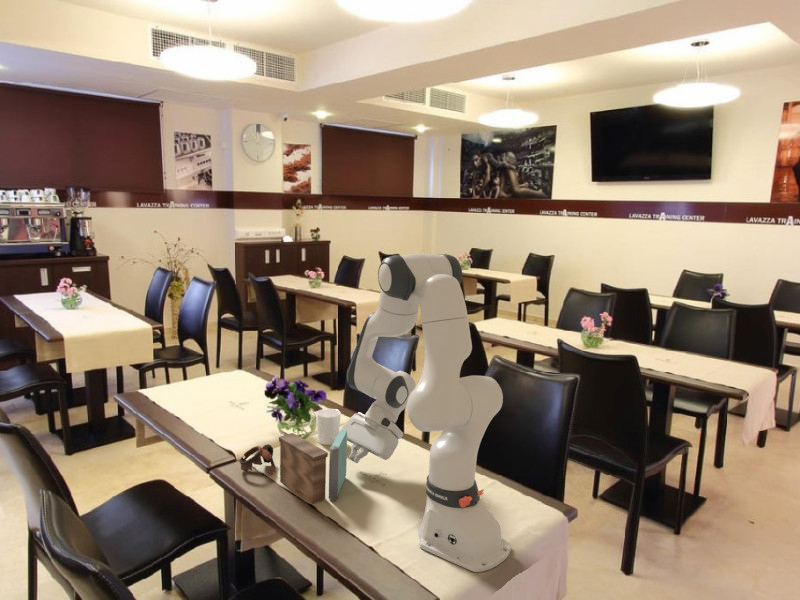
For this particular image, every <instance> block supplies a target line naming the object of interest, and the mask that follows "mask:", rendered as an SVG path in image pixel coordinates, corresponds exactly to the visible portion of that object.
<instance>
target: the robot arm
mask: <svg viewBox="0 0 800 600" xmlns="http://www.w3.org/2000/svg"><path fill="white" fill-rule="evenodd" d="M377 280H378V281H377V282H378V285H379V287H380V293H379V294H380V295H379V298H378V306H377V308H376V310H375V312H371V313H370V314H369V315H368V316H367V318H366V320H365V322H364V324H363V326H362V329H361V332H360V335H359V337H358V341H357V344H356V348H355V350H354V354H353V358H352V360H351V361H350V364H349V366H348V368H347V371H346V380H347V384H348V386H349V388H351V389H353V390H356V391H358V392H360V393H363V394H365V395H367V396H369V397H370V398H372V399H373V400H375V401H374V402H372V403H371V405H370V407H369V408H368V410H367V411H366V412H365V414H364V413H362V412H357V413H354V414H353V415H352V416H350V417H349V418H348V419H347V420H346V422H345V423H344V424H343V425H342V427H340V428H339V431H340V430H347V442H348V443H351V449H350V454H349V455H348V459H349V460H350V461H351V462H354V463H355V464H359V462H360V460H361V459H363V458H364V457H366V456H368V454H369V453H370V454H371V455H375V456H377V457H379V458H380V459H382V460H384V461H387V460H389V459H390V458H391V457H392V455H393V454H394V453H395V451H396V449H397V448H398V447H397V446H399V440H401V439H402V438H403V436H404V432H403V431H402V430H401V429H400V427H398V426H397V424H396V422H397V420H398V418H399V415H400V414H401V412H402V411H404V409H405V408H406V414H407V417H408V420H409V421H410V423H411V424H412V425H413V427H414V428H415V429H417V430H418V431H420V432H427V433H429V432H430V433H432V432H433V433H435V432H436V433H437V432H440V434H439V435H438V437H437V438H436V439H435V440H434V441H433V442H432V444H431V446H430V449H429V463H428V464H429V465H428V475H427V478H426V482H425V483H426V484H425V494H426V502H425V508H424V513H423V517H422V520H421V523H420V526H419V529H418V535H419V537H420V541H419V548H420V549H421V550H424V551H426V552H428V553H430V554H433V555H435V556H438V557H439V558H442V559H444V560H446V561H448V562H450V563H452V564H455V565H457V566H460V567H461V568H464V569H466V570H469V571H471V572H474V573H481V572H485V571H489V570H491V569H493V568H495V567H497V566H499V565H500V564H501V563H503V562H504V561H505V560H506V559H507V558H508V557H509V556H510V554H511V551H512V550H511V544H510V543H509V541H506V540H505V539H504V538H503V537H502V530H501V525H500V523H499V521H498V520H497V519H496V518H495V517H494V514H493V512H492V511H491V510H489V508H488V507H487V506H486V505H485V504H484V503H483V501H482V500H481V496H482V495H484V490H485V489H483V488H482V489H481V490H479V488H478V484H477V480H476V470H477V469H476V468H477V460H478V459H477V458H478V452H479V448H480V445H481V442H482V439H483V437H484V435H485V432H486V430H487V428H488V426H489V424H490V423H491V421H492V420H493V418H494V417H495V416H496V415H497V414H498V413H499V411H500V410H501V409H502V406H503V402H504V400H503V399H504V396H503V391H502V388H501V387H500V386H501V385H500V384H499V383H498V382H497V380H496V379H494V378H493V377H491V376H485V375H473V374H472V375H468V376H462V377H460V376H461V375H460V374H461V369H462V366H463V363H464V361H466V359H468V358H469V356H470V355H471V354H472V350H473V344H472V337H471V330H470V329H471V328H470V324H469V316H468V311H467V305H466V301H465V297H464V293H463V290H462V287H461V283H462V280H463V269H462V266H461V263H460V261H459V260H458V259H457V258H456V257H455V256H453V255H451V254H447V253H439V254H435V253H422V252H417V253H409V254H403V255H399V254H395V255H391V256H387V257H386V258H383V260H382V261H381V263H380V265H379V266H378V271H377ZM419 310H420V319H421V320H420V321H421V326H422V336H423V337H422V338H423V346H424V360H423V361H424V362H423V368H422V371H421V375H420V378H419V381H418V382H417V384H416V380H415V379H414V378H413V377H412V376H411V375H410V374H409V373H407V372H406V371H402V370H398V371H394V370H392V369H390V368H388V367H386V366H383V365H382V364H379V363H378V362H376V361H375V360H374V358H373V355H374V351H375V348H376V346H377V342H378V339H379V337H383V338H384V337H385V338H395V337H400V336H403V335H406V334H408V333H409V332H411V331H412V330H413V328H414V327H415V325H416V323H417V320H418V315H419ZM358 451H359V452H358Z"/></svg>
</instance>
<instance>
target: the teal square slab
mask: <svg viewBox="0 0 800 600" xmlns="http://www.w3.org/2000/svg"><path fill="white" fill-rule="evenodd" d="M347 448H348V441H347V430H340V429H339V433H338V435H337V437H336V439H335V441H334V443H333V444H332V445H330V447H329V456H328V458H329V464H328V465H329V467H328V499H329V500H330V501H331V500H332V501H333V500H334V501H335V500H337V499H338V498H339V494H340V491H341V488H342V487H343V484H344V481H345V480H346V477H347V455H348V453H347V452H348V451H347V450H348V449H347Z"/></svg>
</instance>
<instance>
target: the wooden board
mask: <svg viewBox="0 0 800 600" xmlns="http://www.w3.org/2000/svg"><path fill="white" fill-rule="evenodd" d="M278 442H280V443H279V448H280V449H279V450H280V451H279V452H280V457H279V459H280V460H279V461H280V462H279V466H280V467H279V481H280V482H281V483H282V482H283V483H282V484H284V486H287V487H288V488H289V489H291V490H292V491H293V492H295V493H297V494H298V495H300V496H301V497H303V498H304V499H306V501H308V502H310V503H311V504H316V503H318V502H321V501H323V500H325V499H326V483H327V482H326V479H327V476H326V475H327V473H326V472H327V458H329V456H328V455H329V453H328V452H329V451H328V452H327V451H325V450H324V449H323V448H320V447H319V446H317V445H315V444H313V443H312V442H310V441H308V440H306V439H304V438H303V437H300V436H299V435H298V434H295V433H294V432H292V433H287V434H284V435H282V436H278Z"/></svg>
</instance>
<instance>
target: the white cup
mask: <svg viewBox="0 0 800 600" xmlns="http://www.w3.org/2000/svg"><path fill="white" fill-rule="evenodd" d="M341 415H342V413H341V411H340V410H338V409H336V408H323V409H319V410H318V411H317V412H316V428H317V430H316V431H317V441H318V443H319V444H320V445H322V446H323V445H324V446H332V444H333V443H334V441H335V439H336V437H337V435H338V433H339V431H340V429H341Z"/></svg>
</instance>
